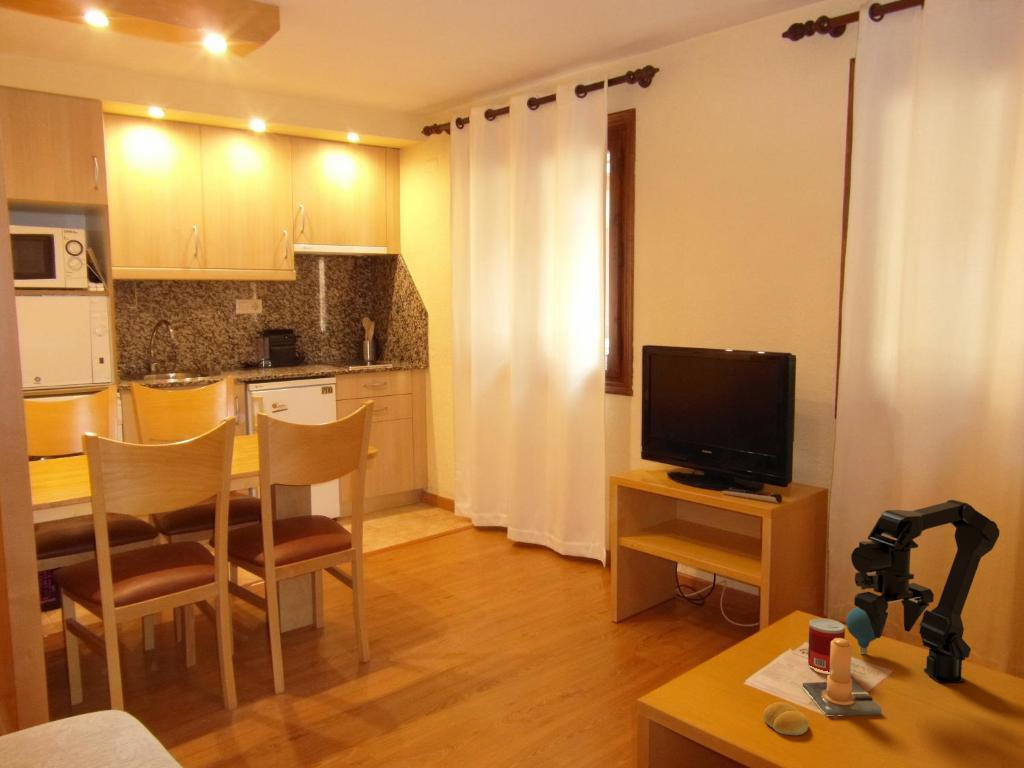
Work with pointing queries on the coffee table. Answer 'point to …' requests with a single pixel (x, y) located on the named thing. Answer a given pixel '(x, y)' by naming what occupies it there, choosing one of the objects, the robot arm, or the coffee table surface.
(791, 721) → the bread roll
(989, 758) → the coffee table surface
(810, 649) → the canned food
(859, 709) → the plate
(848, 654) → the tapered peach knob
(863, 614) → the light bulb
